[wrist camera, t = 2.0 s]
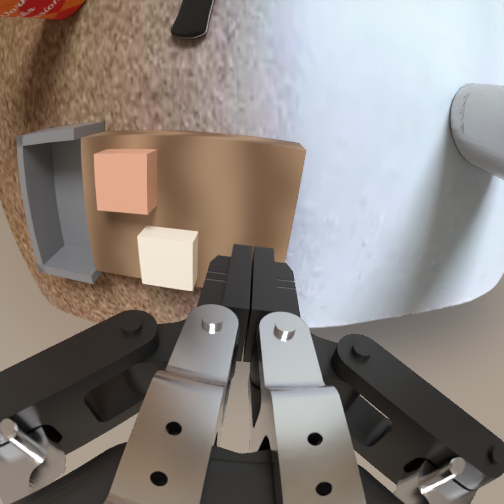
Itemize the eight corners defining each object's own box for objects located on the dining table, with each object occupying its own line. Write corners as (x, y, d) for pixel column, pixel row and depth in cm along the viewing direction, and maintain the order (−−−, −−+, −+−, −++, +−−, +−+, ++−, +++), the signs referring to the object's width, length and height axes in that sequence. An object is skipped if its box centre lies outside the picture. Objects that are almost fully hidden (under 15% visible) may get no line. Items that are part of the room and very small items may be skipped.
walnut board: (299, 143, 22) (306, 150, 18) (275, 272, 28) (277, 296, 25) (104, 131, 21) (80, 138, 18) (112, 250, 28) (95, 270, 24)
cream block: (198, 231, 22) (192, 243, 20) (197, 277, 24) (192, 291, 22) (146, 225, 22) (137, 236, 20) (150, 270, 24) (142, 283, 22)
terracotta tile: (157, 149, 18) (146, 154, 17) (156, 205, 21) (147, 214, 19) (106, 149, 18) (93, 154, 17) (109, 201, 21) (97, 210, 19)
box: (104, 121, 21) (73, 128, 16) (113, 258, 28) (93, 284, 24) (47, 128, 21) (16, 137, 16) (62, 249, 28) (39, 271, 24)
